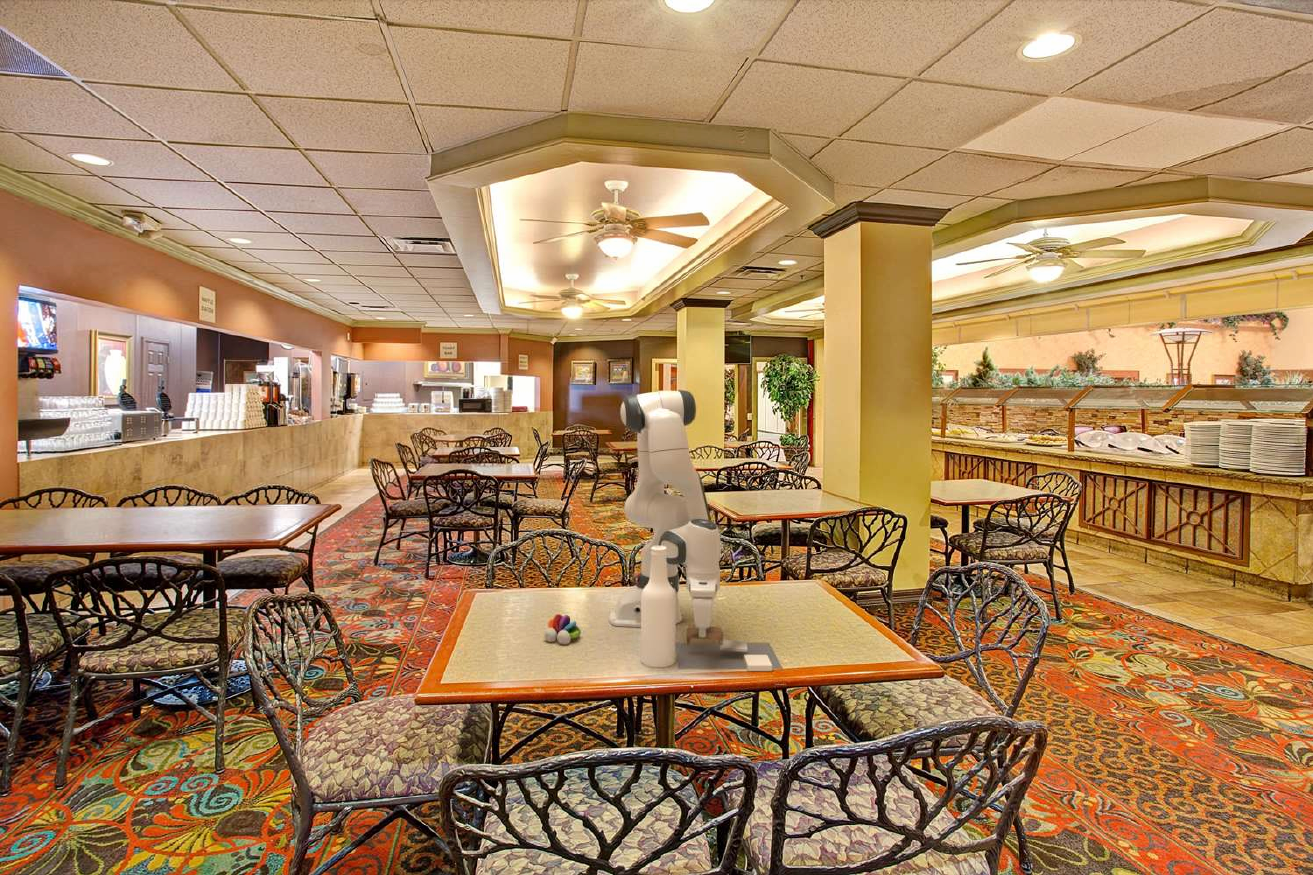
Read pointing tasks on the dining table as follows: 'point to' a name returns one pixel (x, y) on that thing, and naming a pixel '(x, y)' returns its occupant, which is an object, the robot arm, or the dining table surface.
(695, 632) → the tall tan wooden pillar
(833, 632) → the dining table surface
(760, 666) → the tile
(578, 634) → the multicoloured ball cluster
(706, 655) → the mat
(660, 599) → the alcohol
